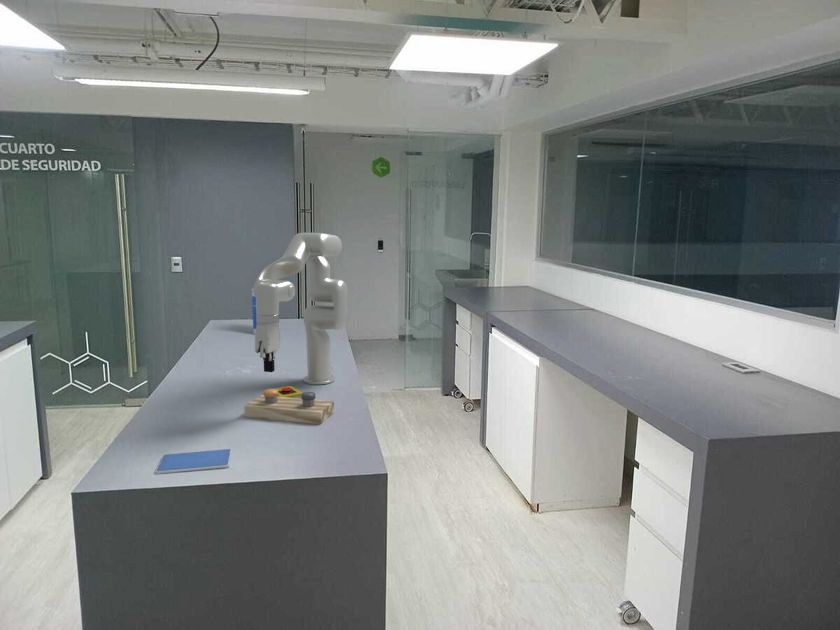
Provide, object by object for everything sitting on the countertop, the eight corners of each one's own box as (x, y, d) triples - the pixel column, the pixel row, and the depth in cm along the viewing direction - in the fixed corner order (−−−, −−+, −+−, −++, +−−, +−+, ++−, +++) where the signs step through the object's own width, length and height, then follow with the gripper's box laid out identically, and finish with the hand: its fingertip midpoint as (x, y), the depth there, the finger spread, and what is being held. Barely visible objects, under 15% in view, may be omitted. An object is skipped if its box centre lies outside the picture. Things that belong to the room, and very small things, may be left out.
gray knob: (305, 406, 212) (304, 391, 211) (317, 407, 211) (317, 392, 210) (299, 410, 208) (298, 395, 207) (312, 412, 207) (312, 396, 206)
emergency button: (282, 395, 220) (266, 385, 232) (282, 406, 221) (266, 396, 233) (305, 390, 226) (288, 381, 237) (306, 402, 226) (289, 392, 238)
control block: (261, 405, 220) (261, 395, 220) (334, 412, 214) (334, 401, 213) (244, 416, 209) (244, 405, 208) (321, 423, 203) (320, 412, 202)
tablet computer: (154, 476, 164) (154, 471, 164) (163, 457, 176) (162, 453, 176) (229, 469, 168) (229, 465, 168) (232, 452, 180) (232, 447, 180)
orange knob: (268, 403, 215) (267, 388, 214) (280, 404, 214) (280, 389, 213) (261, 407, 211) (261, 392, 210) (274, 408, 210) (274, 393, 209)
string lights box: (265, 335, 338) (263, 289, 334) (252, 334, 340) (250, 288, 335) (276, 330, 351) (274, 286, 346) (263, 329, 353) (262, 285, 348)
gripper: (268, 315, 215) (269, 365, 218) (246, 322, 200) (248, 376, 203) (287, 316, 213) (288, 367, 216) (267, 323, 199) (269, 377, 202)
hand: (269, 371), depth 210 cm, fingers closed
